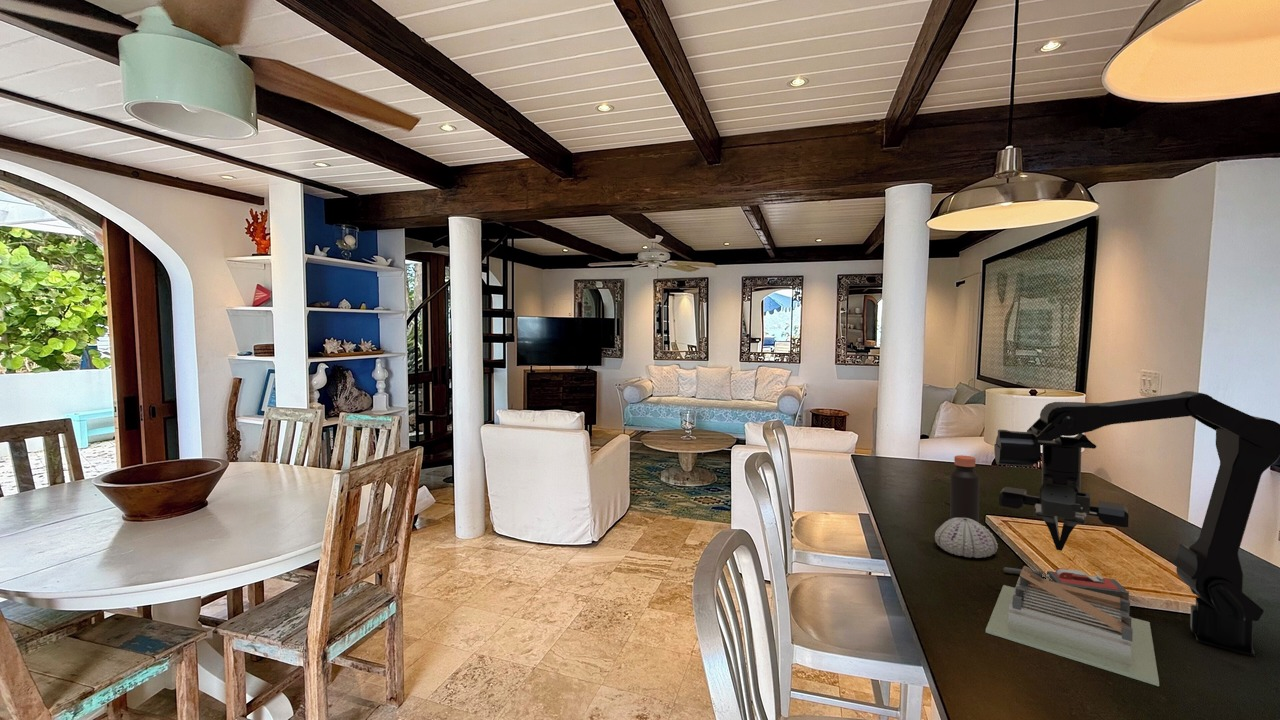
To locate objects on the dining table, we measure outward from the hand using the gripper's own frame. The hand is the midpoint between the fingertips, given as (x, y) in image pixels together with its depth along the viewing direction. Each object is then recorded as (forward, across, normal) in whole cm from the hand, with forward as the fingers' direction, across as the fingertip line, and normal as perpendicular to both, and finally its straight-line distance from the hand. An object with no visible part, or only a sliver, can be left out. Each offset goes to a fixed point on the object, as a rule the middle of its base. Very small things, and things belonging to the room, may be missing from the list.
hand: (1059, 549), depth 98 cm
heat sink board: (+12, +2, -6) cm, 14 cm away
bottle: (+13, -22, +39) cm, 47 cm away
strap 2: (+5, +2, -11) cm, 12 cm away
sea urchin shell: (+13, -19, +22) cm, 32 cm away
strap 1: (+8, +2, 0) cm, 8 cm away
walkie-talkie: (+13, 0, +14) cm, 19 cm away
